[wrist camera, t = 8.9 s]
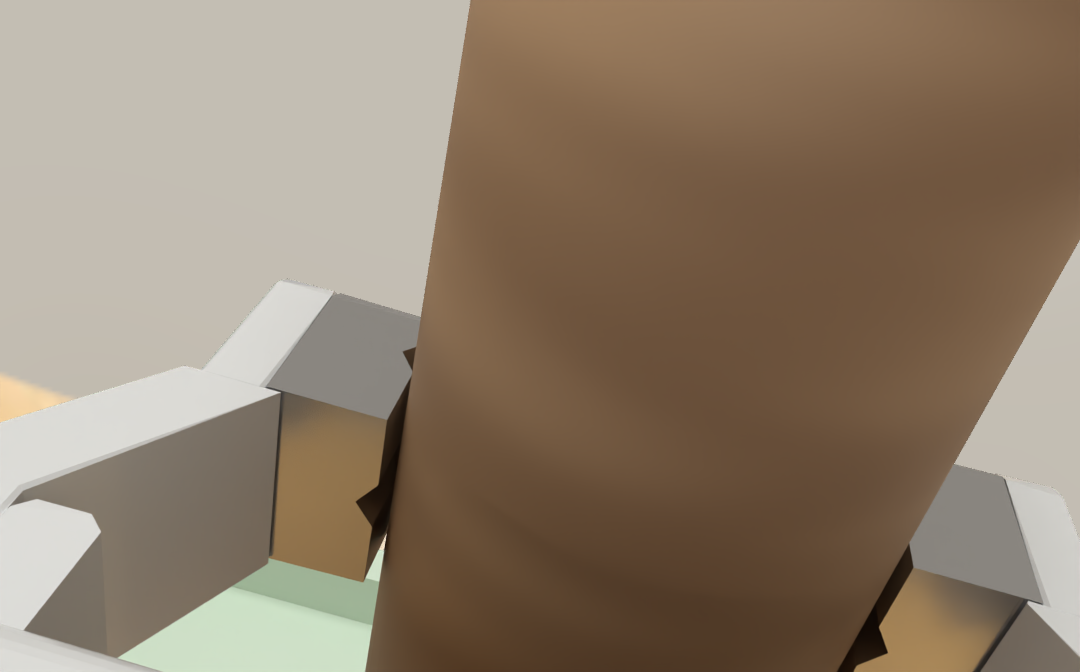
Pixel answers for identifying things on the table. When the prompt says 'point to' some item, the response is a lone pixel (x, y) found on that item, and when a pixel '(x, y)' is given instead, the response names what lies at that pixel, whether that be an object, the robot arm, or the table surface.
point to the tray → (272, 625)
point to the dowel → (714, 320)
